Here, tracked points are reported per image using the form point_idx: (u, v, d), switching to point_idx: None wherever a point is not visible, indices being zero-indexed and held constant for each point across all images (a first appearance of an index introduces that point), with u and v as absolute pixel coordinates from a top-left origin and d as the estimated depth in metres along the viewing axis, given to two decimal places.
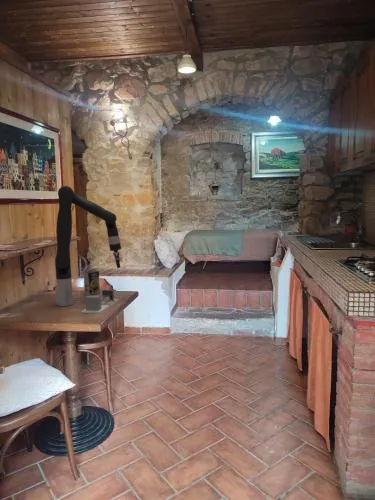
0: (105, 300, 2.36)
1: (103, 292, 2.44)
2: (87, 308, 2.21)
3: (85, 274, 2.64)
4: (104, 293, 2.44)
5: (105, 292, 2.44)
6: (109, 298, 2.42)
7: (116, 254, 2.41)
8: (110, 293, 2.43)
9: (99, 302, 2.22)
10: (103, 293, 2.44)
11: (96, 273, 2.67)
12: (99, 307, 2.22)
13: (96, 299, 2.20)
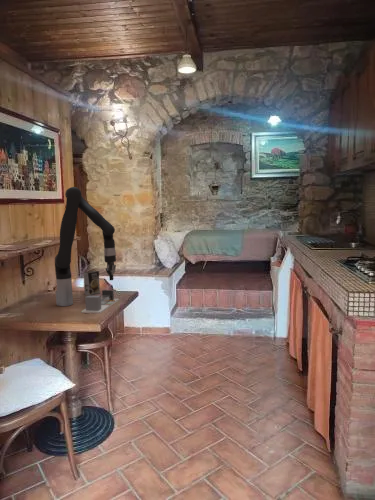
0: (105, 300, 2.36)
1: (103, 292, 2.44)
2: (87, 308, 2.21)
3: (85, 274, 2.64)
4: (104, 293, 2.44)
5: (105, 292, 2.44)
6: (109, 298, 2.42)
7: (107, 269, 2.44)
8: (110, 293, 2.43)
9: (99, 302, 2.22)
10: (103, 293, 2.44)
11: (96, 273, 2.67)
12: (99, 307, 2.22)
13: (96, 299, 2.20)
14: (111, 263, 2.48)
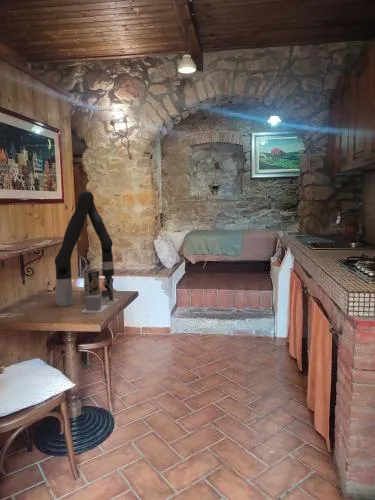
0: (105, 300, 2.35)
1: (103, 292, 2.43)
2: (87, 308, 2.21)
3: (85, 274, 2.64)
4: (104, 293, 2.43)
5: (105, 292, 2.43)
6: (109, 298, 2.41)
7: (105, 283, 2.41)
8: (110, 293, 2.43)
9: (99, 302, 2.22)
10: (103, 293, 2.44)
11: (96, 273, 2.67)
12: (99, 307, 2.22)
13: (96, 299, 2.20)
14: (109, 277, 2.45)
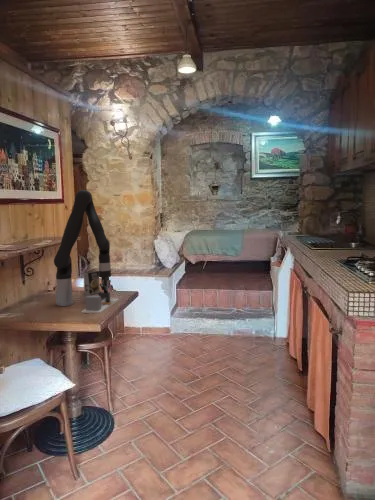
0: (101, 302, 2.30)
1: (99, 294, 2.38)
2: (87, 308, 2.21)
3: (85, 274, 2.64)
4: (100, 295, 2.38)
5: (101, 294, 2.38)
6: (105, 300, 2.36)
7: (101, 285, 2.36)
8: (107, 295, 2.37)
9: (99, 302, 2.22)
10: (99, 295, 2.38)
11: (96, 273, 2.67)
12: (99, 307, 2.22)
13: (96, 299, 2.20)
14: (106, 278, 2.39)
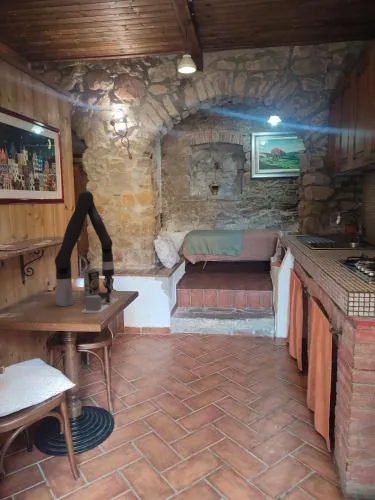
0: (101, 302, 2.29)
1: (99, 294, 2.38)
2: (87, 308, 2.21)
3: (85, 274, 2.64)
4: (100, 295, 2.38)
5: (101, 294, 2.38)
6: (105, 300, 2.36)
7: (105, 283, 2.40)
8: (107, 295, 2.37)
9: (99, 302, 2.22)
10: (99, 295, 2.38)
11: (96, 273, 2.67)
12: (99, 307, 2.22)
13: (96, 299, 2.20)
14: (109, 277, 2.44)
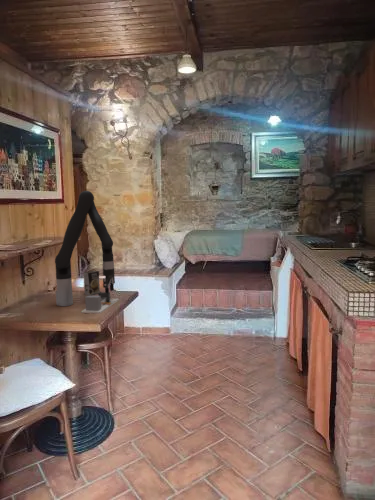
0: (101, 302, 2.29)
1: (99, 294, 2.38)
2: (87, 308, 2.21)
3: (85, 274, 2.64)
4: (100, 295, 2.38)
5: (101, 294, 2.38)
6: (105, 300, 2.36)
7: (104, 280, 2.40)
8: (107, 295, 2.37)
9: (99, 302, 2.22)
10: (99, 295, 2.38)
11: (96, 273, 2.67)
12: (99, 307, 2.22)
13: (96, 299, 2.20)
14: (109, 276, 2.45)
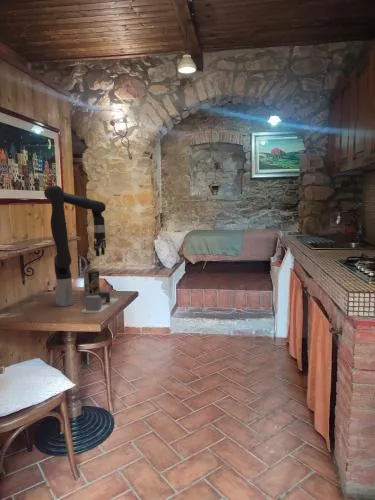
0: (101, 302, 2.29)
1: (99, 294, 2.38)
2: (87, 308, 2.21)
3: (85, 274, 2.64)
4: (100, 295, 2.38)
5: (101, 294, 2.38)
6: (105, 300, 2.36)
7: (95, 242, 2.47)
8: (107, 295, 2.37)
9: (99, 302, 2.22)
10: (99, 295, 2.38)
11: (96, 273, 2.67)
12: (99, 307, 2.22)
13: (96, 299, 2.20)
14: (100, 240, 2.52)
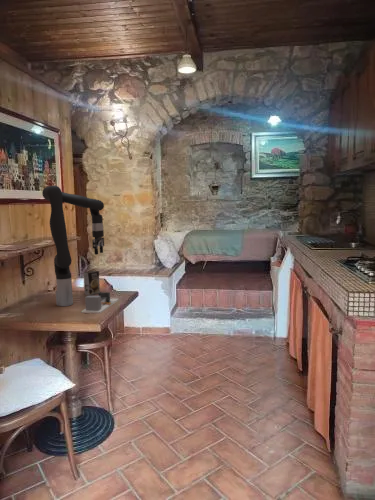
0: (101, 302, 2.29)
1: (99, 294, 2.38)
2: (87, 308, 2.21)
3: (85, 274, 2.64)
4: (100, 295, 2.38)
5: (101, 294, 2.38)
6: (105, 300, 2.36)
7: (94, 240, 2.48)
8: (107, 295, 2.37)
9: (99, 302, 2.22)
10: (99, 295, 2.38)
11: (96, 273, 2.67)
12: (99, 307, 2.22)
13: (96, 299, 2.20)
14: (99, 238, 2.53)
